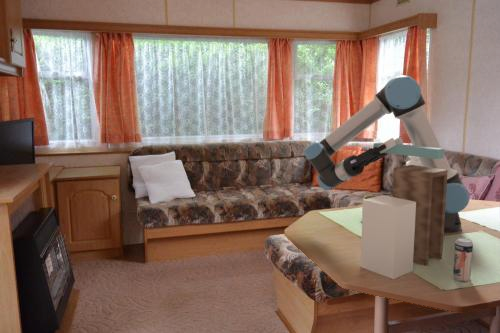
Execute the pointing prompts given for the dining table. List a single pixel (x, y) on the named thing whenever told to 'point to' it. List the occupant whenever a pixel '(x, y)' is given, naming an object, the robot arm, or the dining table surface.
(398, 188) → the tall wooden grooved block
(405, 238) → the pillar
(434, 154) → the bar
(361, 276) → the dining table surface
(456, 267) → the beer can
